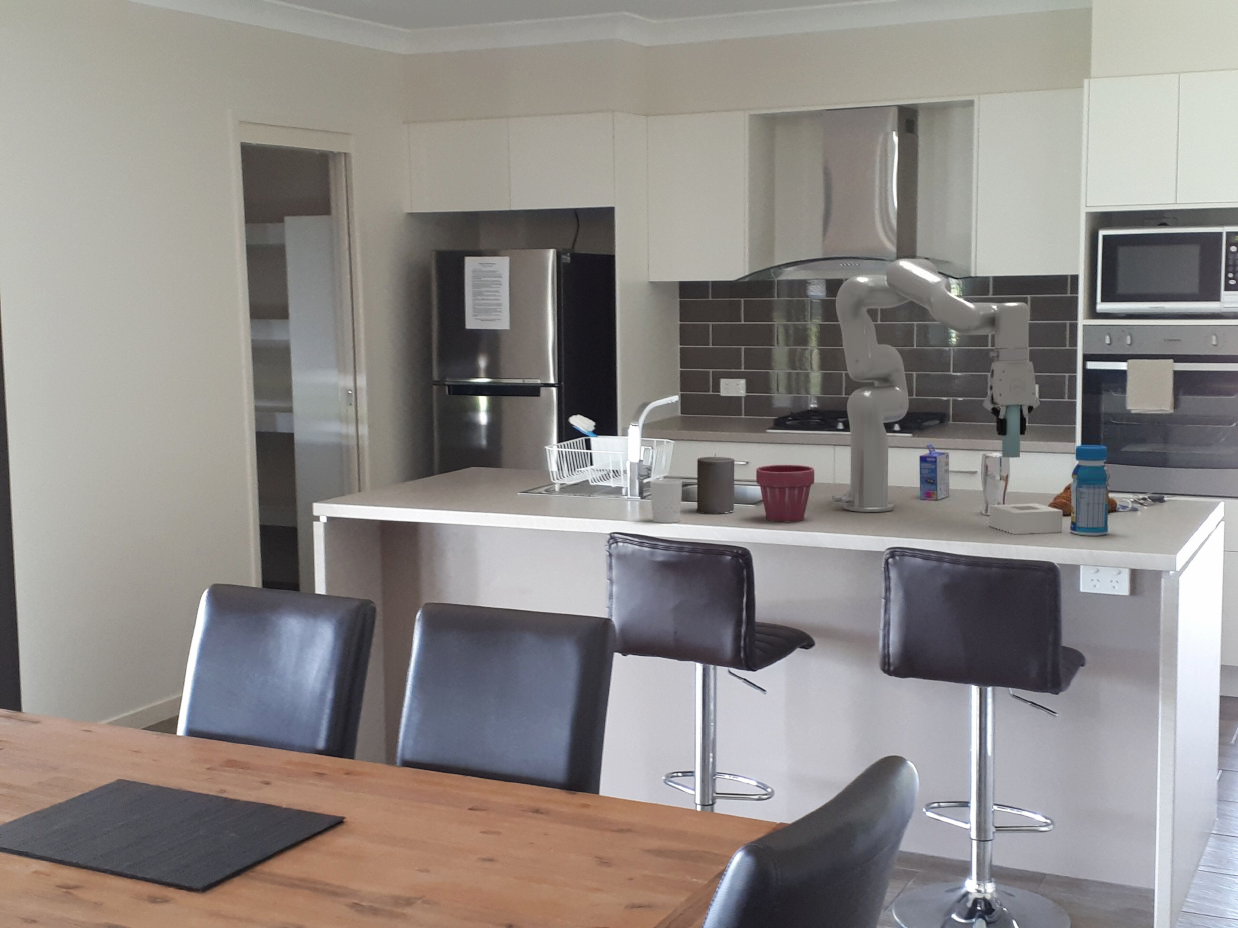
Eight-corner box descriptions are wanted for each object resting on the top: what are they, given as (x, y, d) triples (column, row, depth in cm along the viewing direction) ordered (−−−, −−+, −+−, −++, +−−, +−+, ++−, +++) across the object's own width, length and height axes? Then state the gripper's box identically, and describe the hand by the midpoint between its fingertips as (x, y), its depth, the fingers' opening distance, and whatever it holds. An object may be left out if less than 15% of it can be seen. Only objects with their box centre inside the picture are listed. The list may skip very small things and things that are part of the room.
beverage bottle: (1087, 537, 300) (1090, 449, 297) (1061, 532, 307) (1063, 445, 305) (1116, 534, 303) (1119, 447, 301) (1089, 529, 311) (1092, 443, 308)
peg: (1007, 457, 309) (1007, 397, 308) (999, 456, 313) (999, 396, 312) (1023, 457, 310) (1023, 396, 308) (1014, 455, 314) (1015, 396, 312)
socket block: (1013, 534, 305) (1014, 512, 304) (989, 526, 316) (989, 505, 316) (1062, 532, 307) (1062, 510, 306) (1035, 524, 319) (1036, 503, 318)
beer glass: (1010, 516, 331) (1011, 456, 329) (981, 515, 332) (982, 456, 330) (1007, 512, 338) (1009, 453, 336) (979, 511, 339) (980, 453, 337)
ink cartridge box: (930, 494, 370) (931, 443, 369) (950, 496, 367) (950, 443, 366) (918, 499, 362) (918, 446, 360) (937, 500, 359) (938, 447, 357)
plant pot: (780, 525, 321) (780, 472, 319) (744, 518, 333) (744, 467, 331) (826, 520, 328) (826, 468, 327) (789, 513, 340) (789, 463, 339)
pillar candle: (689, 511, 344) (689, 454, 342) (712, 507, 351) (713, 450, 349) (718, 515, 338) (718, 457, 336) (742, 511, 345) (742, 453, 343)
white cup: (648, 519, 333) (648, 479, 332) (680, 518, 334) (680, 478, 333) (652, 524, 325) (652, 483, 324) (684, 523, 326) (684, 482, 325)
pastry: (1055, 507, 347) (1056, 476, 346) (1118, 510, 340) (1119, 479, 339) (1045, 516, 332) (1046, 484, 331) (1111, 520, 325) (1112, 487, 324)
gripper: (985, 357, 304) (985, 437, 306) (1053, 355, 307) (1052, 434, 309) (970, 357, 311) (970, 435, 313) (1036, 355, 314) (1036, 432, 316)
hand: (1011, 434), depth 311 cm, fingers closed on peg, 4 cm apart
